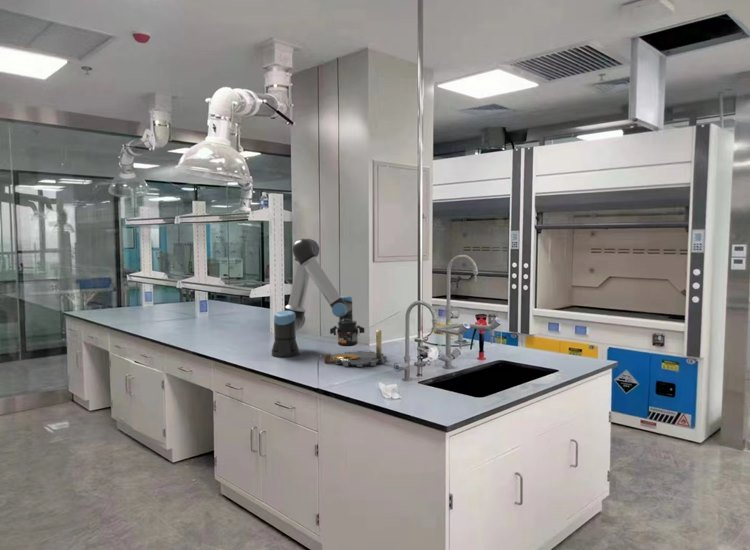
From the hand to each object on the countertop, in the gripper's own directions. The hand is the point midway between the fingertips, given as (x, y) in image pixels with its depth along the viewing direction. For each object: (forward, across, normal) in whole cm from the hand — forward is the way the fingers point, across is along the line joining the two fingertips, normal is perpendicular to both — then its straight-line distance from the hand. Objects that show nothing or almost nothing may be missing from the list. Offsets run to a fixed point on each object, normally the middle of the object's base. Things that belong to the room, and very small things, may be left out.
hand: (347, 333), depth 263 cm
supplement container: (-4, 0, -7) cm, 8 cm away
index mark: (-4, +11, -15) cm, 19 cm away
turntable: (-4, -6, -16) cm, 17 cm away
